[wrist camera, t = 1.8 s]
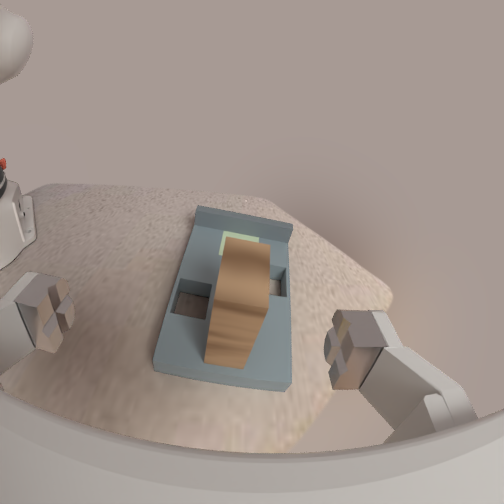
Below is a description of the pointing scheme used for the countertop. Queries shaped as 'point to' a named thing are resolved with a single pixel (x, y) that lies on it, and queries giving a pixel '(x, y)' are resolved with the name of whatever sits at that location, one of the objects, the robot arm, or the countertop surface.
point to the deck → (204, 284)
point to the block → (238, 302)
